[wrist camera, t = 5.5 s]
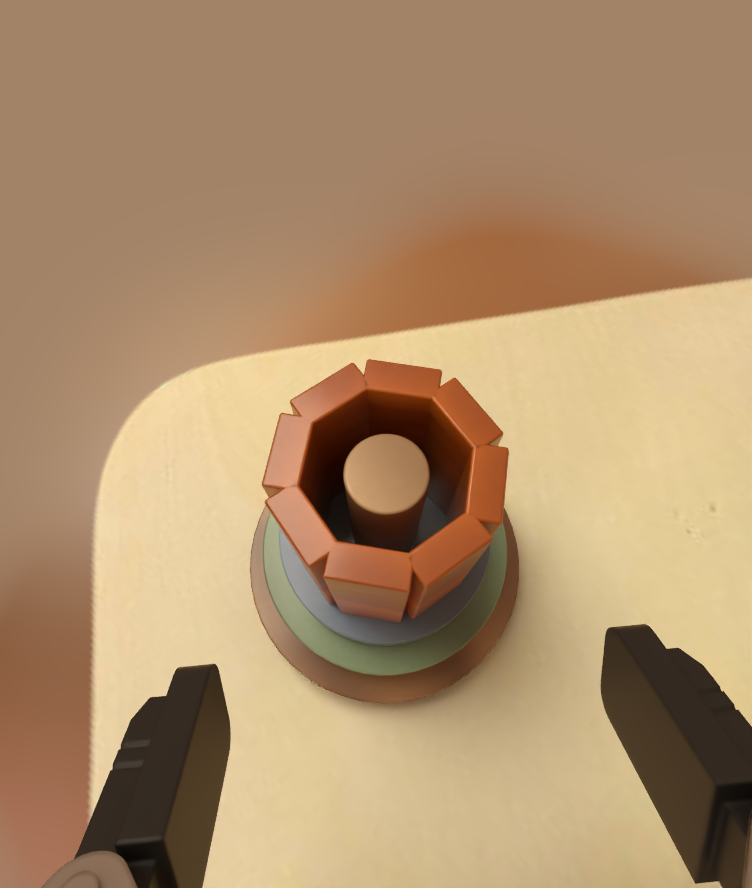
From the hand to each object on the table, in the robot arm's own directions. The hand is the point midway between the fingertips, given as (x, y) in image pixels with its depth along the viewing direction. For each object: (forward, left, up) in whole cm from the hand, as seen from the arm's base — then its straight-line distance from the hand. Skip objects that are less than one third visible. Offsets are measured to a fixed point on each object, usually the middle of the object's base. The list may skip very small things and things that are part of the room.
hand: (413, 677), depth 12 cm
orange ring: (+3, +5, -9) cm, 10 cm away
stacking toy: (+3, +5, -15) cm, 16 cm away
